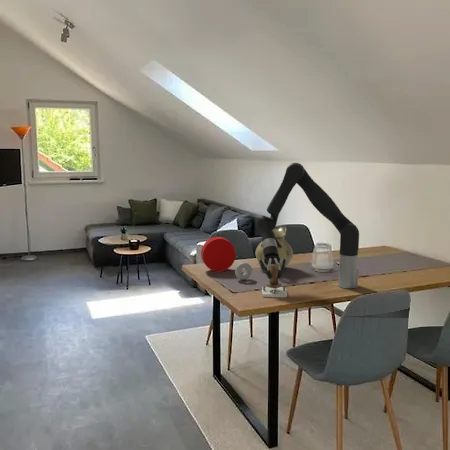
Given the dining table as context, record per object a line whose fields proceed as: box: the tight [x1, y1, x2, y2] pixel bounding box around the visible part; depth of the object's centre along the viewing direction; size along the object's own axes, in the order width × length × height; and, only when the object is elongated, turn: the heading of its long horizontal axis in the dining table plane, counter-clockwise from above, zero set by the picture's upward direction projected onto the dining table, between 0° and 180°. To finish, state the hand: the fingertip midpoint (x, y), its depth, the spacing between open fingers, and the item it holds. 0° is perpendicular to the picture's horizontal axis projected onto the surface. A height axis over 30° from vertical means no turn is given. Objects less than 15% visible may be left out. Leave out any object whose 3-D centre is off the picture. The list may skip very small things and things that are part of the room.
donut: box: [234, 262, 253, 281], centre depth 259 cm, size 10×4×10 cm, turn 113°
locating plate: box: [261, 285, 288, 298], centre depth 235 cm, size 12×12×4 cm
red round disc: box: [200, 236, 237, 273], centre depth 279 cm, size 20×6×20 cm, turn 103°
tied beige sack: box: [254, 226, 294, 271], centre depth 281 cm, size 22×24×25 cm
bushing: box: [266, 264, 282, 288], centre depth 234 cm, size 7×7×11 cm
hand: (274, 277), depth 232 cm, fingers closed on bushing, 4 cm apart
